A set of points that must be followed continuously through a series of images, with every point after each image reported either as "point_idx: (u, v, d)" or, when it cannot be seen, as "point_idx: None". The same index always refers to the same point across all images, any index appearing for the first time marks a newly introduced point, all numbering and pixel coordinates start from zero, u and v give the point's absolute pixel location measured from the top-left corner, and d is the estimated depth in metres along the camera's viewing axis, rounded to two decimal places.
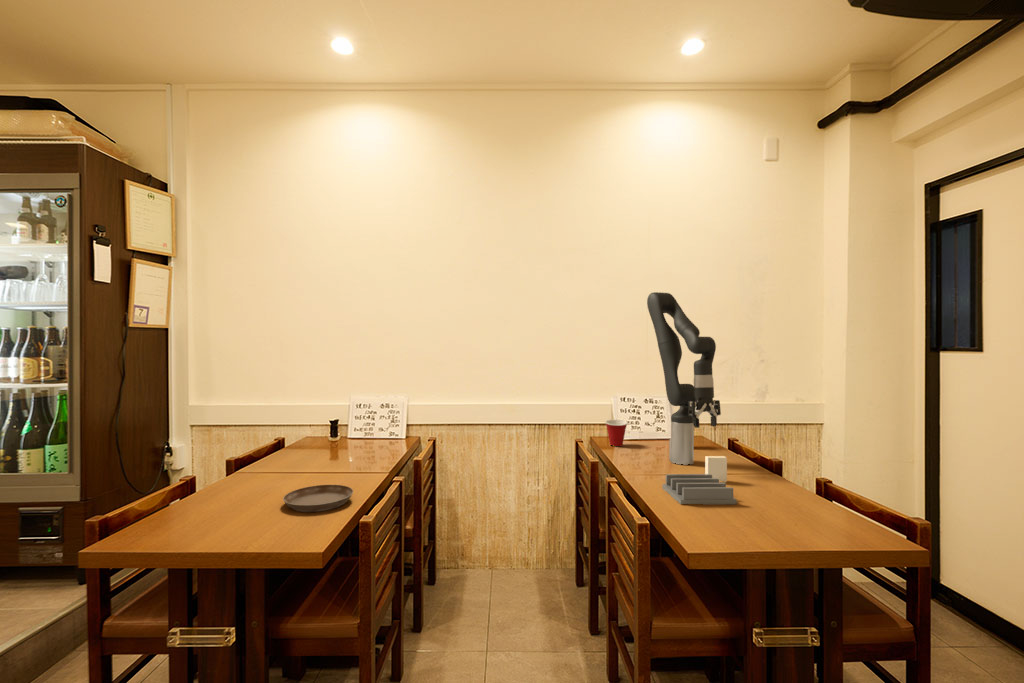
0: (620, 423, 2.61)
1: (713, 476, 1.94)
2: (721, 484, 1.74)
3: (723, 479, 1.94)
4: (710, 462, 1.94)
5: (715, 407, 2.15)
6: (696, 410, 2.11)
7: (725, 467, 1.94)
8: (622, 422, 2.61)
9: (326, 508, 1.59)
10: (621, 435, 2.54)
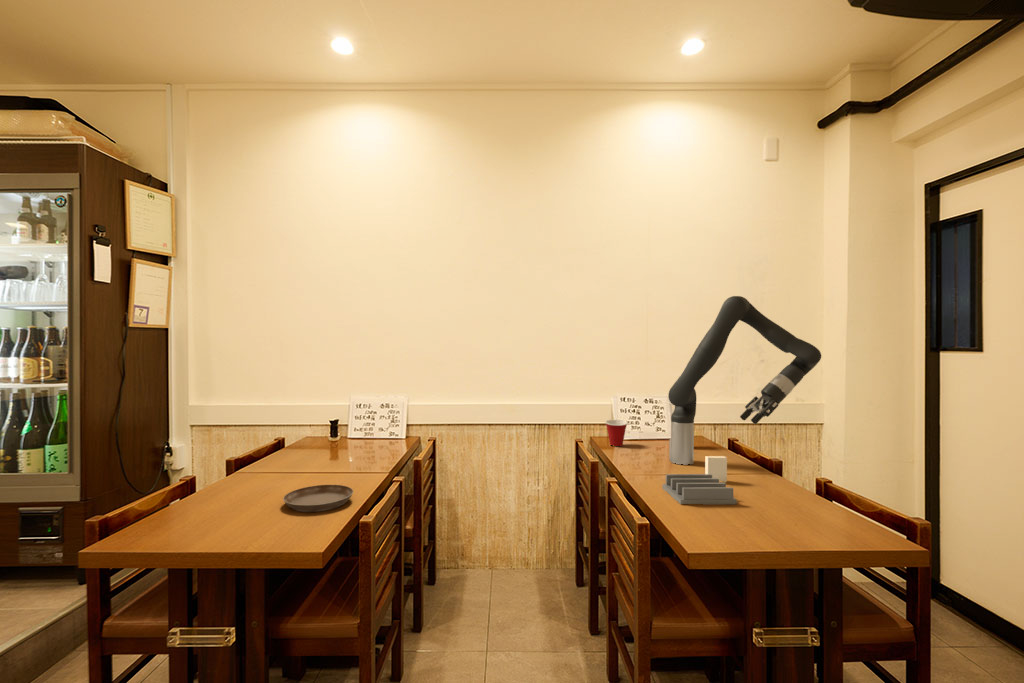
0: (620, 423, 2.61)
1: (713, 476, 1.94)
2: (721, 484, 1.74)
3: (723, 479, 1.94)
4: (710, 462, 1.94)
5: None
6: (764, 408, 1.92)
7: (725, 467, 1.94)
8: (622, 422, 2.61)
9: (326, 508, 1.59)
10: (621, 435, 2.54)
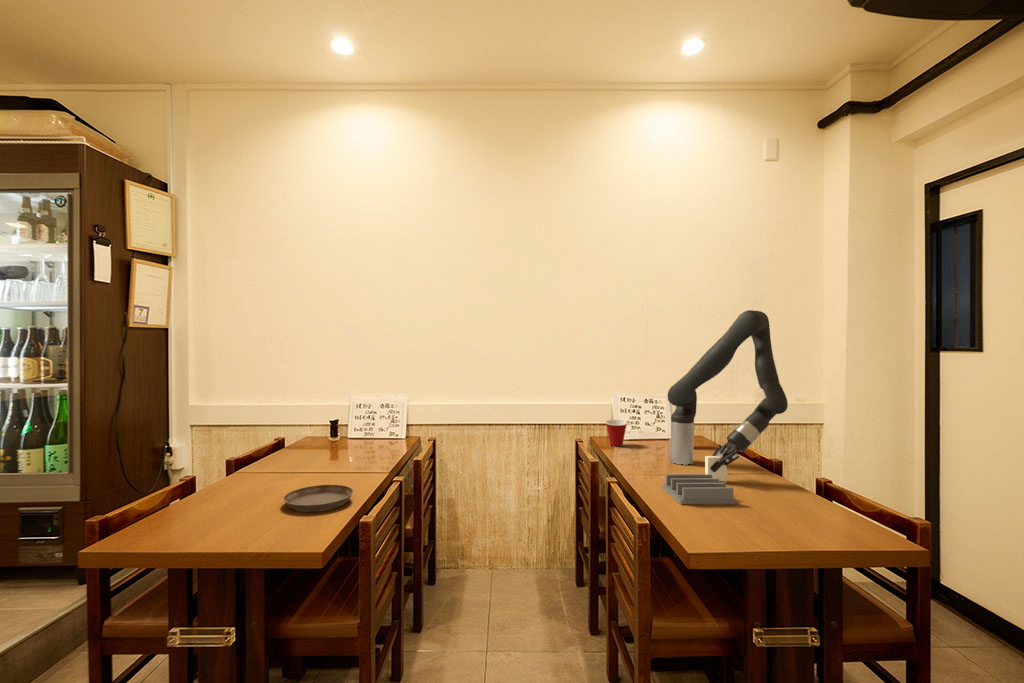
0: (620, 423, 2.61)
1: (713, 476, 1.94)
2: (721, 484, 1.74)
3: (723, 479, 1.94)
4: (710, 462, 1.94)
5: None
6: (725, 456, 1.93)
7: (725, 467, 1.94)
8: (622, 422, 2.61)
9: (326, 508, 1.59)
10: (621, 435, 2.54)
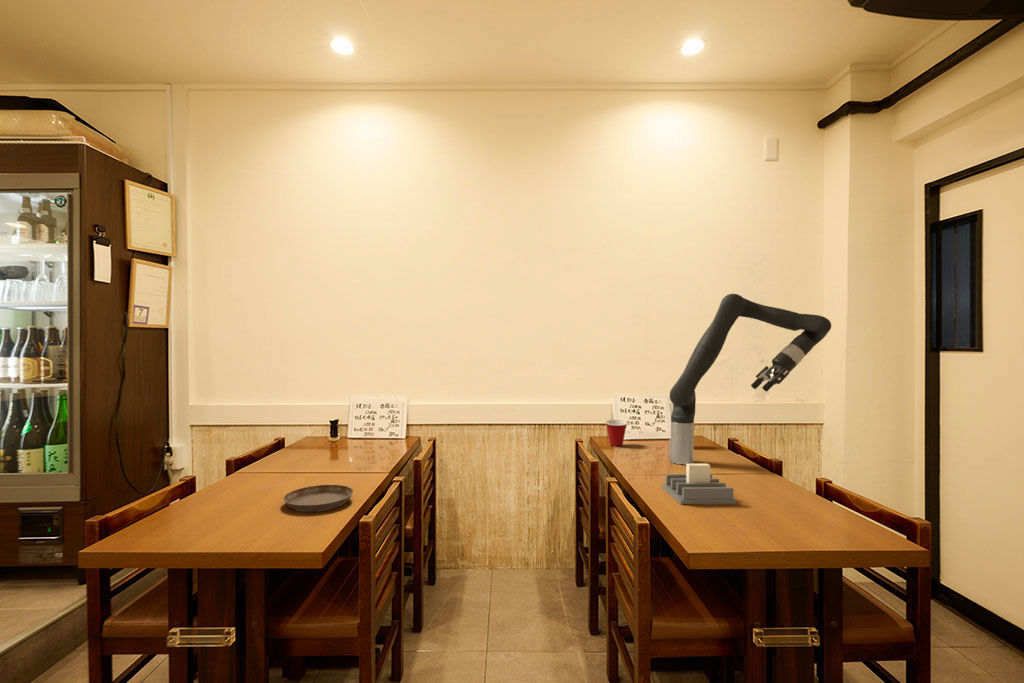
0: (620, 423, 2.61)
1: None
2: (721, 484, 1.74)
3: None
4: (691, 470, 1.76)
5: None
6: (775, 376, 1.97)
7: (708, 476, 1.76)
8: (622, 422, 2.61)
9: (326, 508, 1.59)
10: (621, 435, 2.54)
